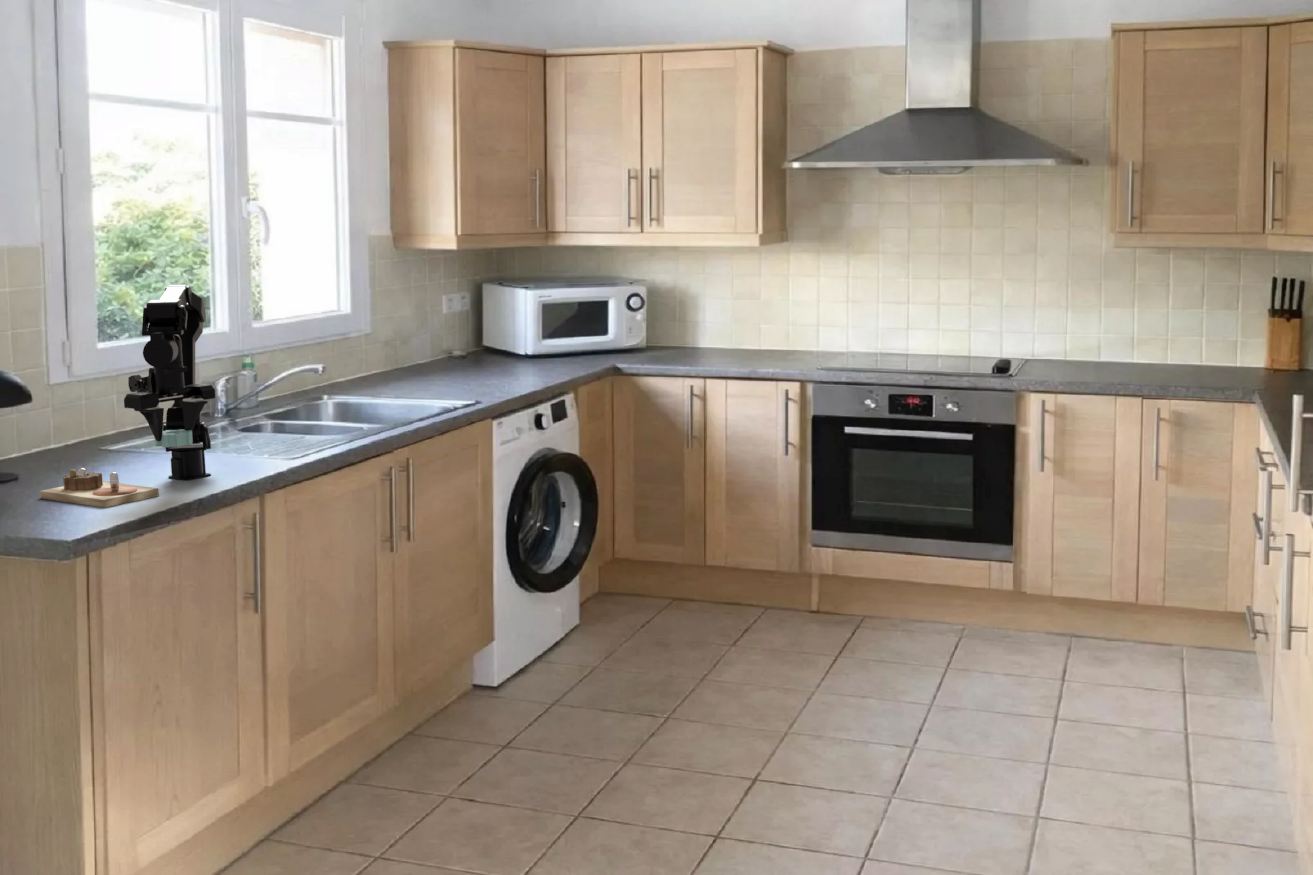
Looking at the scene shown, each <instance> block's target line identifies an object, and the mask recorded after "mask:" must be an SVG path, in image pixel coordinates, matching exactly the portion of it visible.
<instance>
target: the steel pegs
mask: <svg viewBox="0 0 1313 875" xmlns="http://www.w3.org/2000/svg"><path fill="white" fill-rule="evenodd" d="M77 473H78V477H83V476H87V473H88V472H87V470H86V468H84V467H82V468H80V469H78V471H77ZM109 482H110V486H111V490H112V491H118V490H119V483H120V481H119V474H118V473H117V472H114V471H113V472H111V473H109Z"/></svg>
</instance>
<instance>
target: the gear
mask: <svg viewBox="0 0 1313 875" xmlns="http://www.w3.org/2000/svg"><path fill="white" fill-rule="evenodd" d="M68 470H69V471H68V472H69V474H66V475H64V476H63V477H62V478H63V480H62V481H63V486H64V489H65V490H71V491H77V490H91V489H94V488H100V487H101V486H103V482H102V481H103V473H102V472H95V471H90V472H87V476H83V477H78V472H77V469H75V468H74V469H68Z"/></svg>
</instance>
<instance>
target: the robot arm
mask: <svg viewBox="0 0 1313 875" xmlns="http://www.w3.org/2000/svg"><path fill="white" fill-rule="evenodd" d="M203 301H204V300H203V298H202V297H200V296H199V295H197V294H196V293H194V292H193V291H192V288H191V286H190V285H187V284H173V285H172V284H169V285H167V286H164V293H163V294H162V295H161V296H160V298H159V299H151V300H148V301H147V302H146V305H145V306H143V311H142V312H143V313H142V323H141V324H142V326H141V327H142V328H141V336H142V337H144V336H145V337H147V336H149V339H150V340H148V341H147V342H146V343H145V345H144V347H143V350H142V356H143V359H144V360H145V362H146V363H147V364H148V365H150V366H151V367H149V370H148V375H146V376H141V375H140V374H135V375H130V376H128V378H127V379H128V380H127V381H128V388H129V391H130V393H126V394H125V396H124V399H123V404H124V406H123V407H124V409H133V411H135V412H139V413H140V414H141V415H142V416H143V417H144V419H145V420H146V423H147V424H148V426H149V428H150V430H151V433H152V435H153V437H154V440H155V439H156V441H161V438H162V431H165V430H179V429H184V430H192V437H193V443H192V444H191V445H183V446H180V447H176V446H175V447H164V448H165V452H166V453H169V452H171V457H170V468H171V469H170V472H171V475H168V476H167V477H168V479H171V480H179V481H193V480H198V479H202V478H207V477H211V476H212V473H208V472H207V470H206V469H207V468H206V456H205V451H207V450H211V449H212V443H211V442H212V441H211V435H210V431H209V430H210V429H209V428H208V427H207V425H206V422H205V421H204V418H203V416H202V414H201V412H202V411H203V409H204V406H205V405H207V404H208V401H209V400H213V399H216V390H215V388H214V387H213V385H212V384H202V383H201V384H200V383H196V343H197V341H198V340H199V339H200V337H201V335H202V334H203V332H204V323H206V320H207V314H206V308H205V305H204V302H203ZM170 401H173V402H174V403H173V404H172V405H171V407H168V408H167V410H166V414H165V421H166V422H165V423H164V412H165V411H164V410H165V408H163V407H160V403H167V402H170Z"/></svg>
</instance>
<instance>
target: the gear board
mask: <svg viewBox="0 0 1313 875" xmlns="http://www.w3.org/2000/svg"><path fill="white" fill-rule="evenodd" d="M102 482H103V486H101V487H100V488H94V489H91V490H77V491H71V490H65V489H64V485H63V486H58V487H53V488H47V489H43V490H39V492H40V493H39V494H40V499H45V500H51V501H58V502H63V503H71V504H77V505H83V506H84V505H85V506H90V507H91V506H93V507H98V508H99V507H100V508H108V507H114V506H116V505H117V506H118V505H122V504H126V503H130V502H131V503H132V502H136V501H140V500H145V499H149V498H153V497H158V496H160V493H159V492H160V491H159V490H160V489H159V487H153V486H152V487H150V486H143V485H135V484H130V483H121V482H119V490H118V491H112V490H111V486H110V481H105V480H102Z"/></svg>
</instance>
